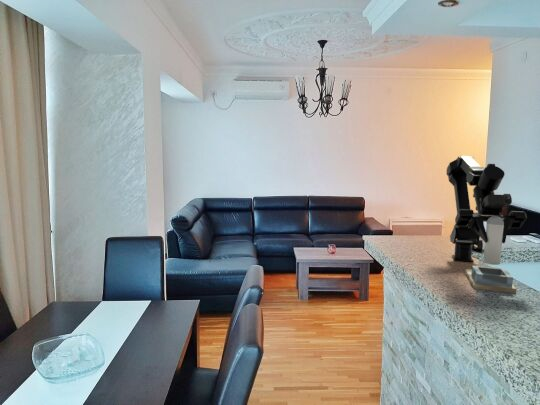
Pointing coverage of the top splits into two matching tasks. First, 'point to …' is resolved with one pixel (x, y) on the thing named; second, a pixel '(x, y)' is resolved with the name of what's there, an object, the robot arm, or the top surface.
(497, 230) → the cylinder
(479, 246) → the build plate
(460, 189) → the robot arm
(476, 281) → the jig
